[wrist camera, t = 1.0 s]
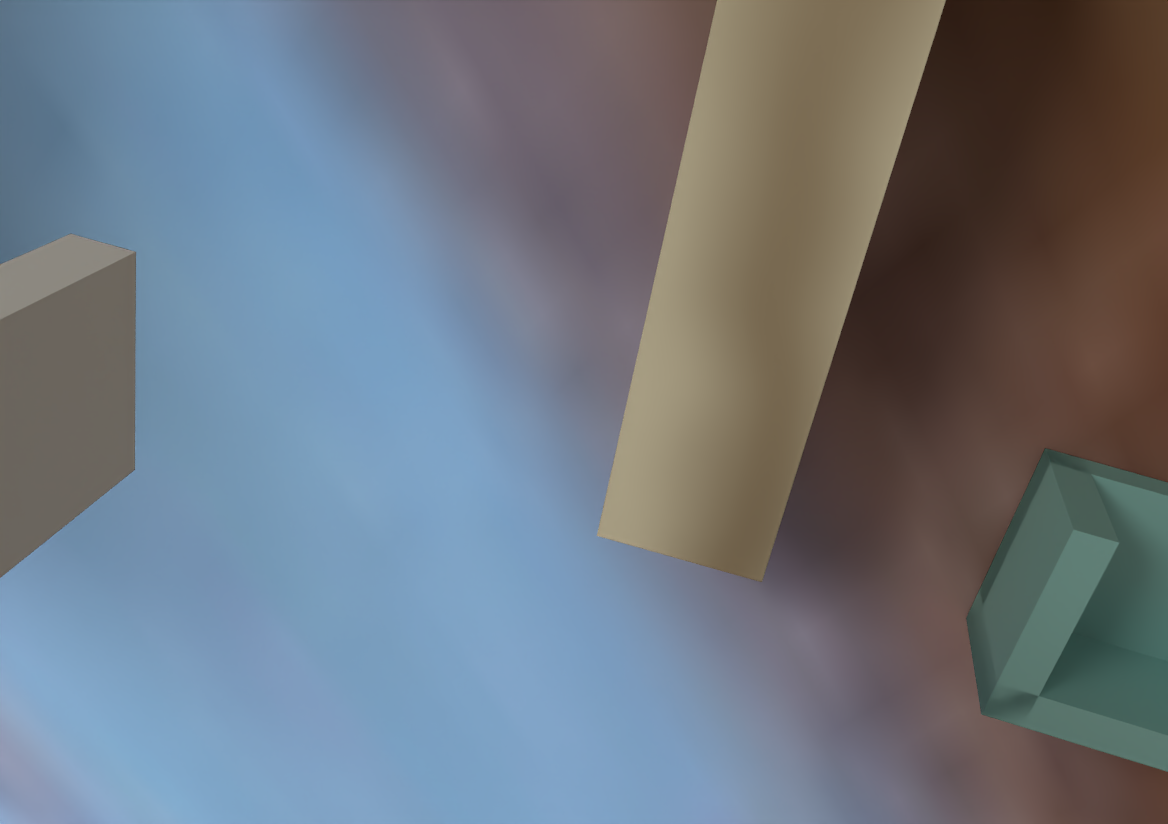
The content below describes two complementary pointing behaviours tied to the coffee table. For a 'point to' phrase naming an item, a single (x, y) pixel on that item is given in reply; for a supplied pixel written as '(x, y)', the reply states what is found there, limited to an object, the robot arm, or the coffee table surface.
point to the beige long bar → (760, 267)
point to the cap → (1080, 611)
